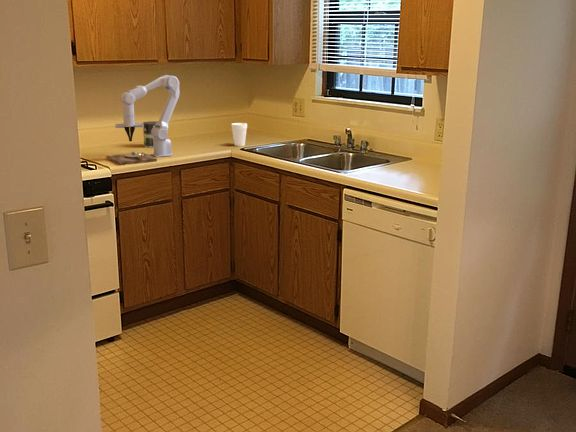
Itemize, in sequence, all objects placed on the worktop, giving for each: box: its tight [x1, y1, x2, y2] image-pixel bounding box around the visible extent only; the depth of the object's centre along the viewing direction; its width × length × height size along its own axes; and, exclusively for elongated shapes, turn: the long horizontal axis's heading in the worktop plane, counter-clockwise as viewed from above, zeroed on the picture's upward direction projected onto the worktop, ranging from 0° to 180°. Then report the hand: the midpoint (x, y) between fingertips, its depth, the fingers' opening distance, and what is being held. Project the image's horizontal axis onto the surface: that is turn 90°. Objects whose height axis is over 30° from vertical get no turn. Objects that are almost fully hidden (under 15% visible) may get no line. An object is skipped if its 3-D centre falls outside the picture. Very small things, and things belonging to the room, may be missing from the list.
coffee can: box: [142, 120, 158, 149], centre depth 367 cm, size 10×10×14 cm
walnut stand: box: [106, 152, 158, 166], centre depth 327 cm, size 20×20×4 cm
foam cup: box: [231, 122, 248, 147], centre depth 373 cm, size 10×9×13 cm
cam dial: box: [124, 151, 144, 159], centre depth 327 cm, size 14×10×3 cm
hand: (130, 141), depth 330 cm, fingers closed
